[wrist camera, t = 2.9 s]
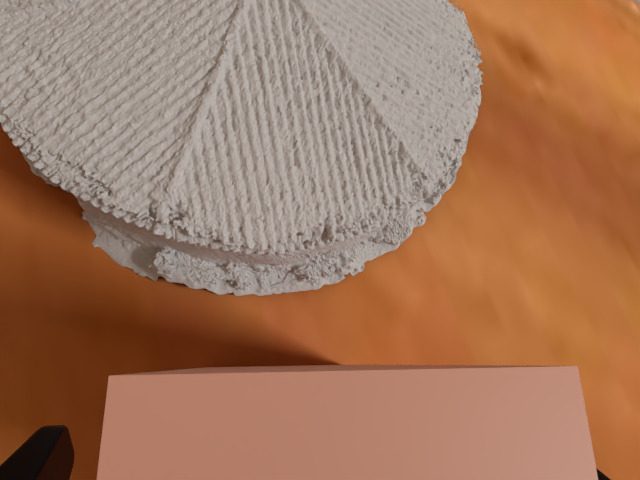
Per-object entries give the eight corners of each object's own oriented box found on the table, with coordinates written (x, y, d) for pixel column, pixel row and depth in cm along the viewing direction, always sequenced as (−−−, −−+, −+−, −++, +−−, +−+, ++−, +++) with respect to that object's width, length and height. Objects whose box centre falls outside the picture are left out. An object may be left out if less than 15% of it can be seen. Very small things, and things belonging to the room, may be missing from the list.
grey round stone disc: (-104, 57, 17) (-318, -125, 10) (253, -140, 23) (256, -334, 17) (247, 412, 16) (249, 454, 9) (526, 106, 22) (645, 2, 15)
